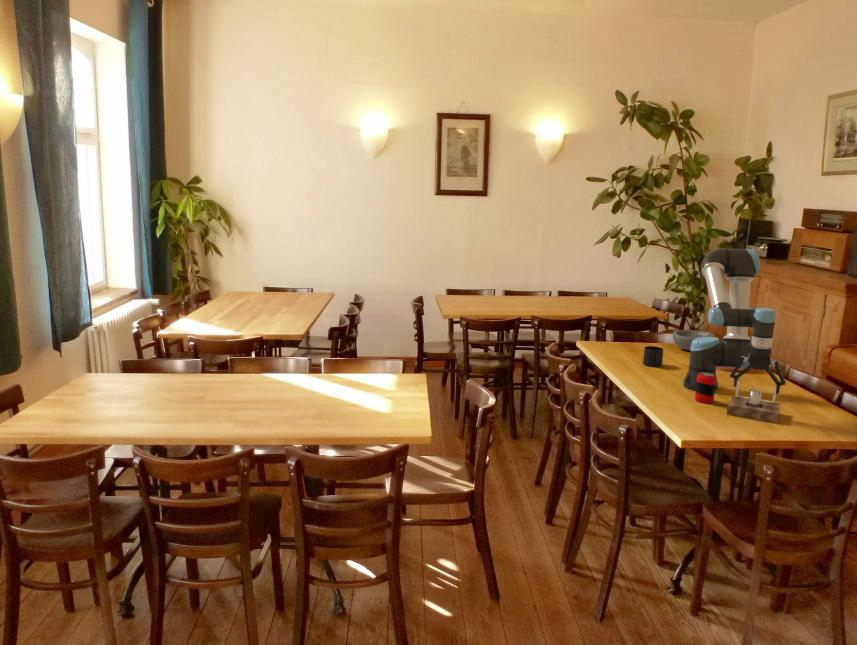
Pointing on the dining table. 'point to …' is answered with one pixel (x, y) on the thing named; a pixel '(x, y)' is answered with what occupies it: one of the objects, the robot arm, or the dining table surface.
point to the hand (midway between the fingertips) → (755, 397)
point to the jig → (754, 409)
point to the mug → (653, 356)
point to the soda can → (705, 388)
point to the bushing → (755, 398)
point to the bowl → (688, 337)
